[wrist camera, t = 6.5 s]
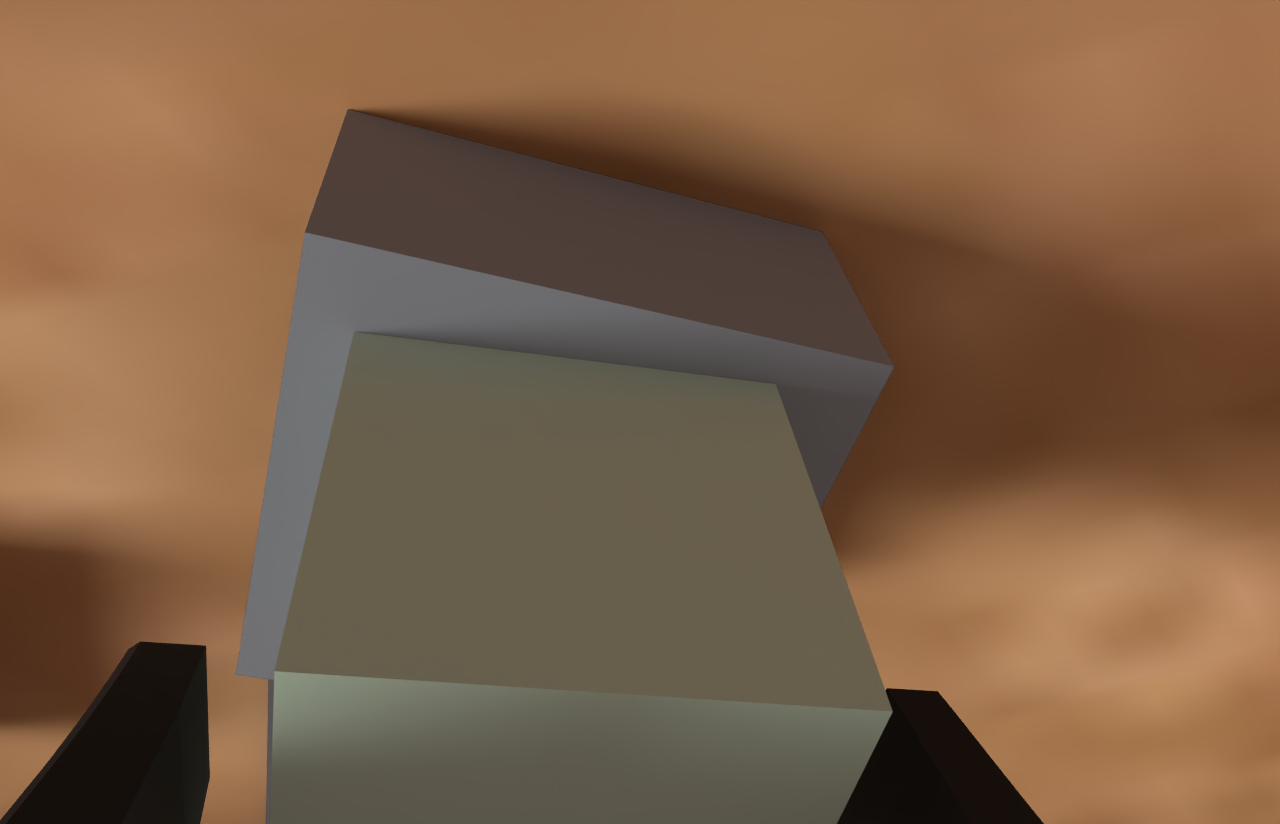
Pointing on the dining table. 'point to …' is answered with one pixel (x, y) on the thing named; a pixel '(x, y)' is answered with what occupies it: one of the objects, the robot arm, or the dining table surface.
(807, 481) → the sage block
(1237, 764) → the dining table surface
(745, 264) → the slate base
